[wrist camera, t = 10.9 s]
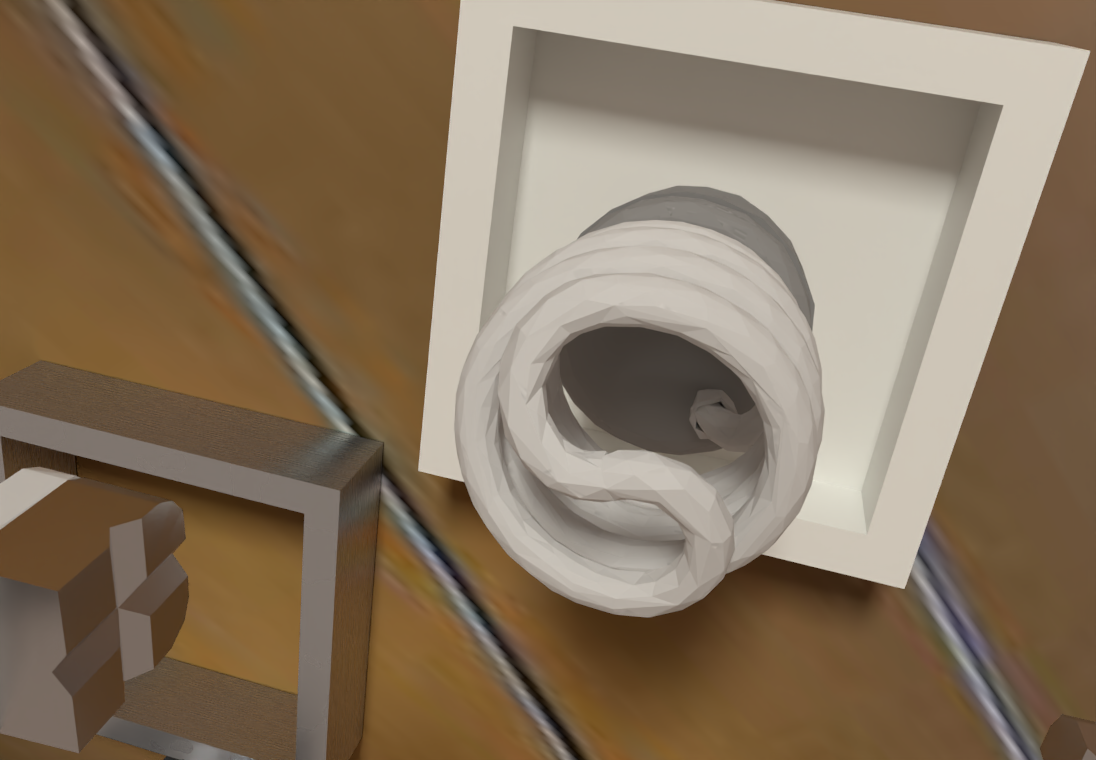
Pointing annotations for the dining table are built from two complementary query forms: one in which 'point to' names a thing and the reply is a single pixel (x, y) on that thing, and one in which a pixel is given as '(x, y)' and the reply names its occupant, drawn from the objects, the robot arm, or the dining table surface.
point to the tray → (767, 207)
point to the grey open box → (248, 472)
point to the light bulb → (646, 403)
